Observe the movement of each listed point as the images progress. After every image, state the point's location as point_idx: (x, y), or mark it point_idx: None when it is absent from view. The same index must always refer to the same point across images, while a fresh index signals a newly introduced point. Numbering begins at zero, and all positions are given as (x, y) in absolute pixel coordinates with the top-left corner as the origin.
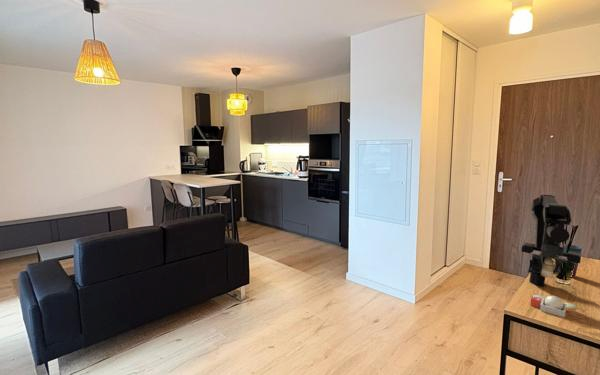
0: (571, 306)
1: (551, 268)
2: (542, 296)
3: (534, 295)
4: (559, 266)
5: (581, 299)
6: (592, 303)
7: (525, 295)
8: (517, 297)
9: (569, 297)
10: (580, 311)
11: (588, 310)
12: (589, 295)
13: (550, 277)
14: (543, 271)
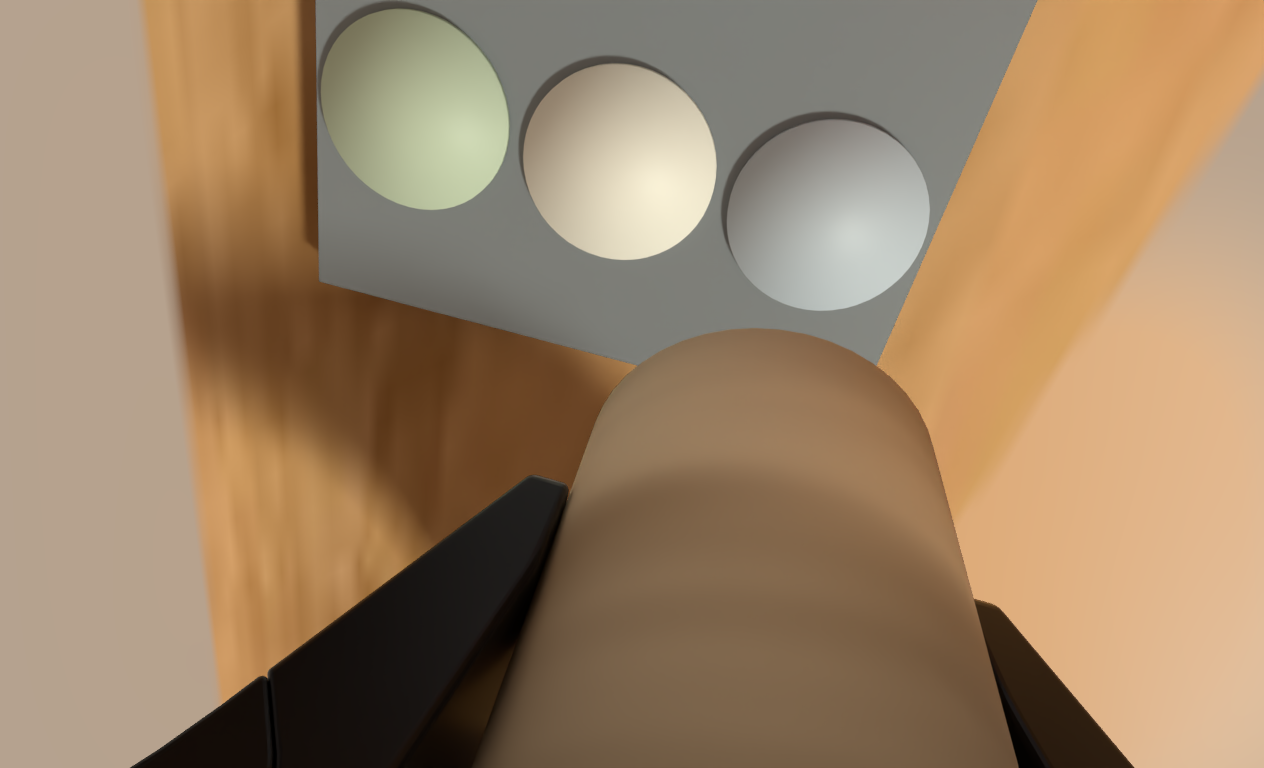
0: (394, 86)
1: (639, 618)
2: (773, 284)
3: (901, 264)
4: (164, 754)
5: (307, 476)
6: (205, 418)
7: (1012, 293)
8: (1216, 131)
9: (421, 478)
10: (303, 70)
11: (221, 173)
12: (247, 601)
13: (687, 345)
14: (938, 524)
